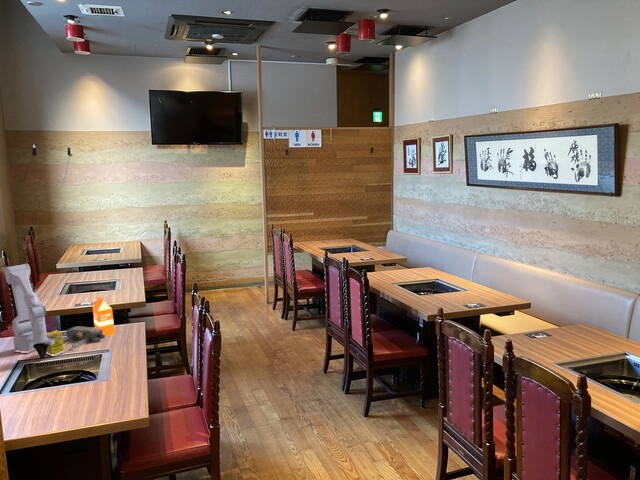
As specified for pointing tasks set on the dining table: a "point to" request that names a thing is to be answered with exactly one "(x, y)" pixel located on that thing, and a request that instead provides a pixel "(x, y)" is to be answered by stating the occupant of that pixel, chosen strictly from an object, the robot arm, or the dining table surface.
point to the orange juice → (103, 317)
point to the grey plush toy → (83, 335)
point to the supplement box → (58, 342)
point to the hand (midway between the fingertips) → (42, 357)
